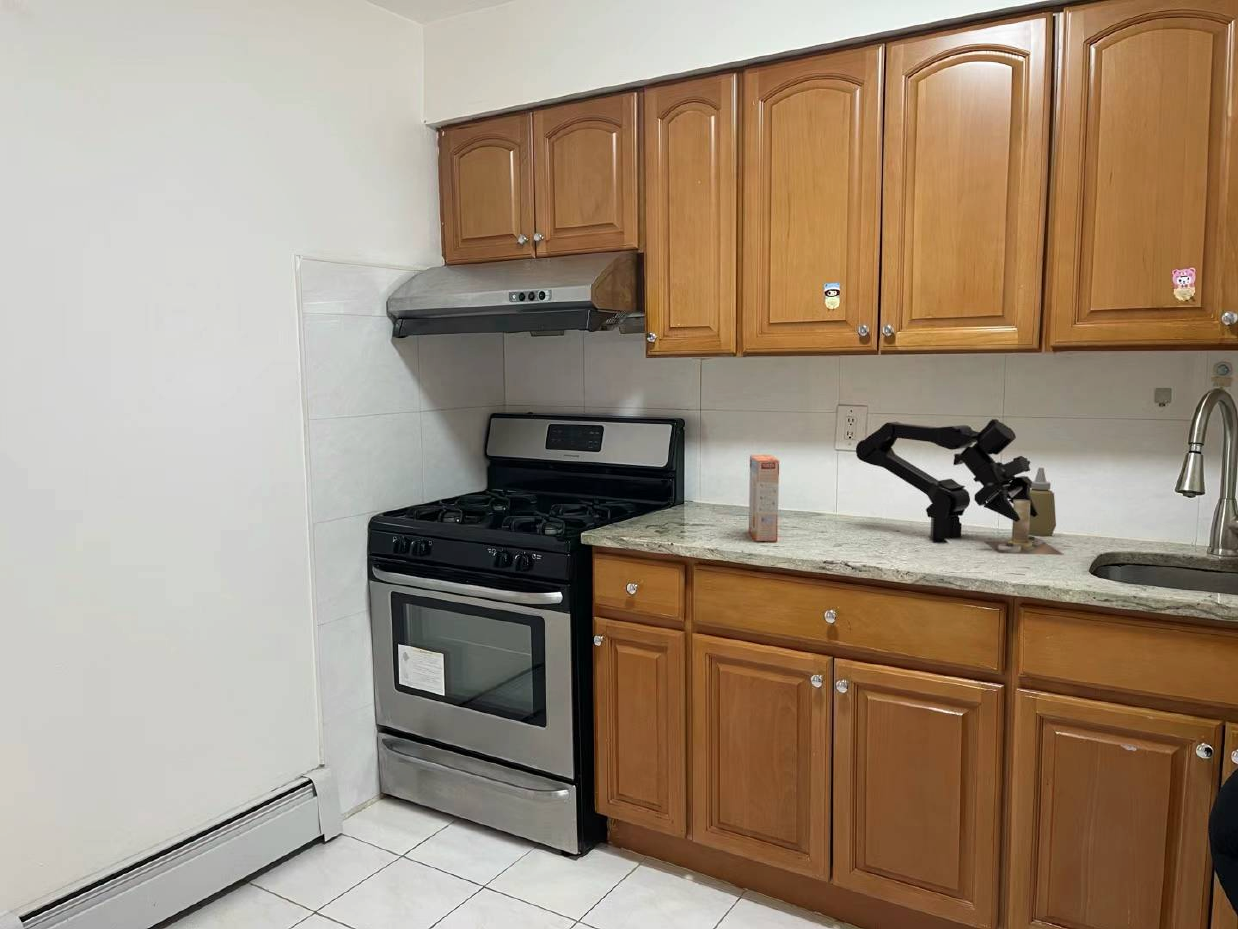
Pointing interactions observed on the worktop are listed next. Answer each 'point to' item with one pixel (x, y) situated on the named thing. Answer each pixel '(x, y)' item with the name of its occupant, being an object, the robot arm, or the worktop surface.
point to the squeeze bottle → (1042, 507)
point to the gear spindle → (1021, 524)
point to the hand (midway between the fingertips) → (1027, 518)
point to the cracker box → (763, 498)
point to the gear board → (1016, 549)
